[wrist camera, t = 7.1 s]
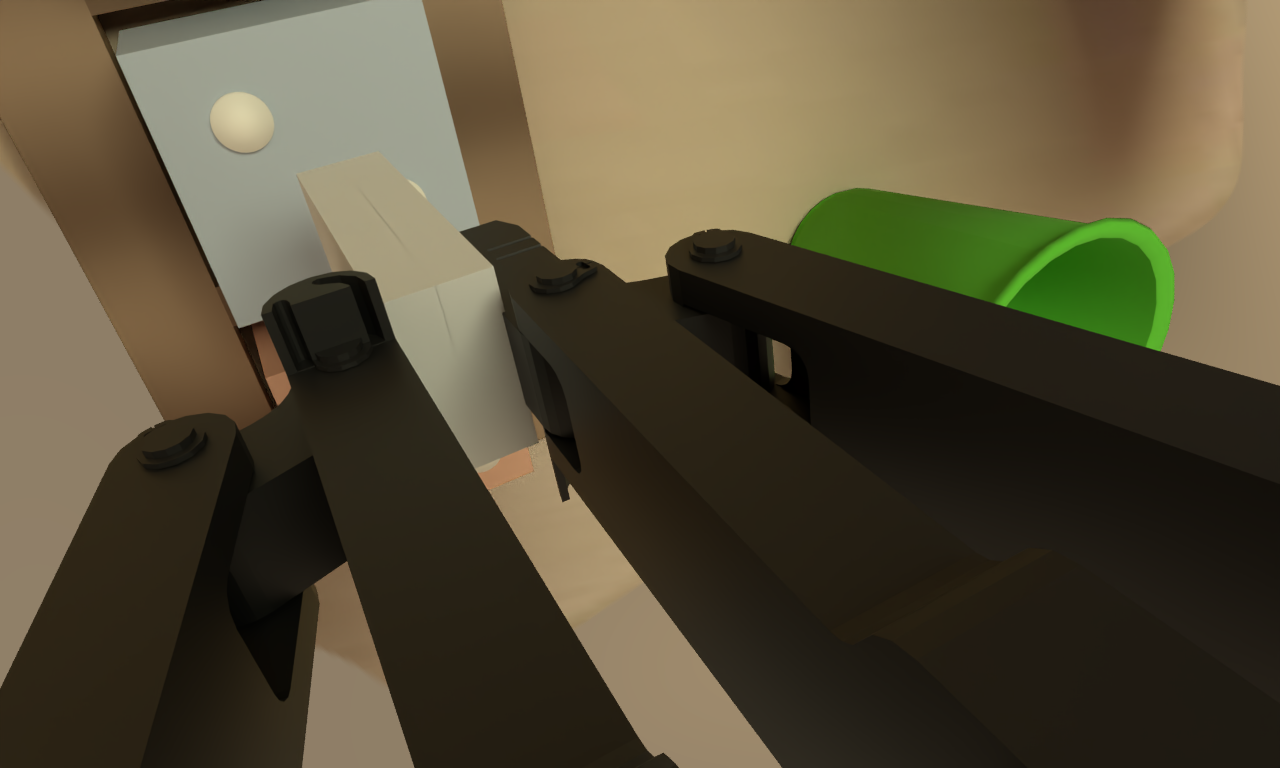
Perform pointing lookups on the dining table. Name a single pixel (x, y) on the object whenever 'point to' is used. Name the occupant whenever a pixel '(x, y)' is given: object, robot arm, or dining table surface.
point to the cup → (1007, 258)
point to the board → (153, 213)
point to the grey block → (289, 124)
